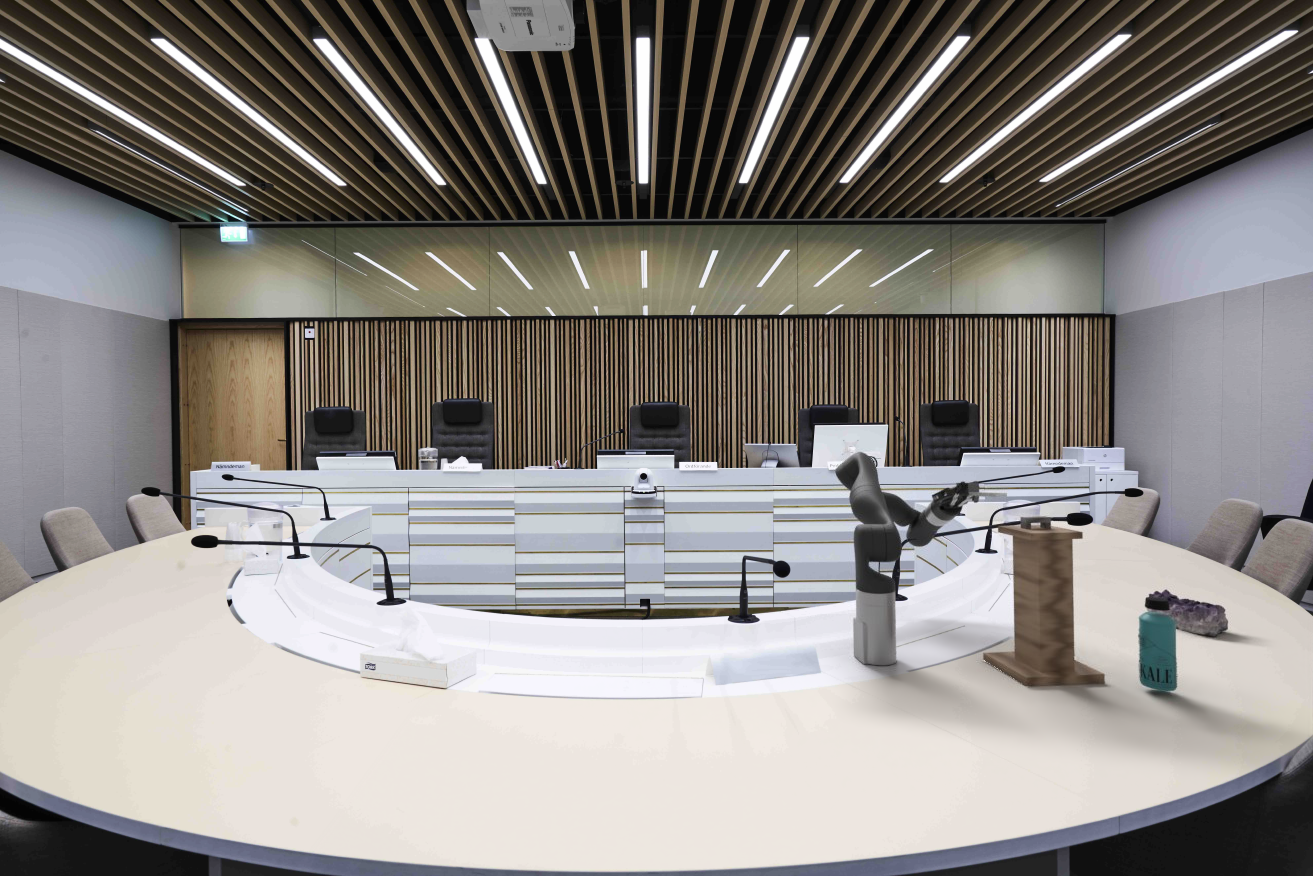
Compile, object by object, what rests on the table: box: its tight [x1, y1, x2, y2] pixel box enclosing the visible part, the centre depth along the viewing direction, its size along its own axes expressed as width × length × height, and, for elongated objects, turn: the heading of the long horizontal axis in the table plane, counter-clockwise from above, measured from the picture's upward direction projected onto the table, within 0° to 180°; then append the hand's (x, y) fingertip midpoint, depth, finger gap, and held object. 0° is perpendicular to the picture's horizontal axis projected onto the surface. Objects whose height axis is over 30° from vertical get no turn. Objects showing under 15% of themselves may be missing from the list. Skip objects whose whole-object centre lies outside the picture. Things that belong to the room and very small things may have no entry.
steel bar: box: [955, 482, 1008, 498], centre depth 169 cm, size 3×18×4 cm, turn 4°
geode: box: [1146, 589, 1229, 638], centre depth 178 cm, size 20×12×10 cm, turn 16°
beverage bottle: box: [1137, 596, 1179, 692], centre depth 133 cm, size 6×7×20 cm
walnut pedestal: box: [982, 515, 1106, 687], centre depth 146 cm, size 18×16×36 cm
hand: (970, 484), depth 174 cm, fingers closed on steel bar, 3 cm apart
